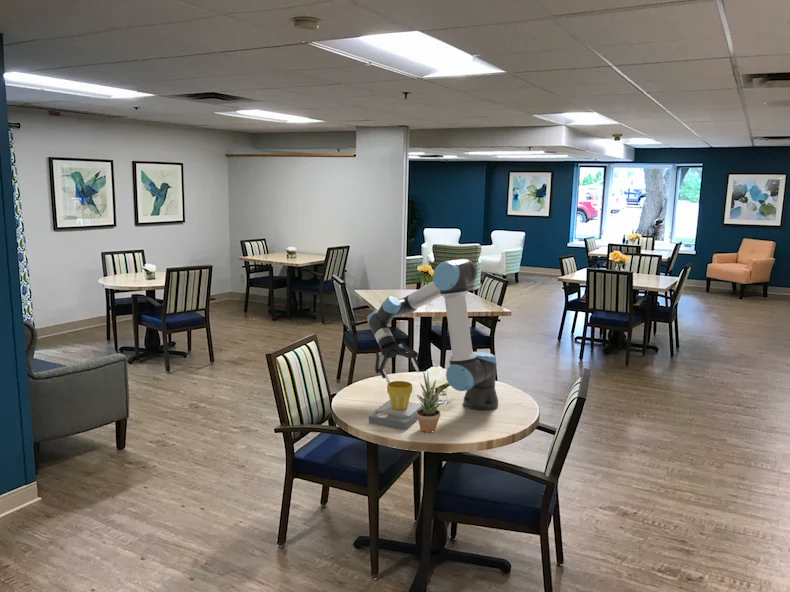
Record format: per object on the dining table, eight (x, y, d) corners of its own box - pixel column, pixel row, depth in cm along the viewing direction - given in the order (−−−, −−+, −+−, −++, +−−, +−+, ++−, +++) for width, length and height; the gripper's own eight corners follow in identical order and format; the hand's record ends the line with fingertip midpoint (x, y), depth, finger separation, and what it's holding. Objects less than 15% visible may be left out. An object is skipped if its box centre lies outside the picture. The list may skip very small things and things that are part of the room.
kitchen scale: (424, 413, 266) (424, 404, 265) (405, 430, 248) (405, 420, 247) (389, 407, 272) (389, 398, 272) (368, 423, 254) (368, 413, 254)
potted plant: (414, 425, 253) (416, 365, 249) (438, 425, 254) (440, 365, 249) (417, 435, 243) (418, 373, 239) (441, 434, 244) (443, 373, 239)
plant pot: (388, 401, 267) (389, 379, 266) (413, 403, 266) (413, 381, 264) (385, 410, 257) (385, 387, 256) (410, 412, 256) (410, 389, 254)
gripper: (411, 335, 291) (430, 370, 278) (361, 355, 287) (377, 392, 274) (410, 325, 285) (429, 361, 272) (358, 345, 281) (375, 383, 268)
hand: (403, 376), depth 273 cm, fingers open, 13 cm apart
